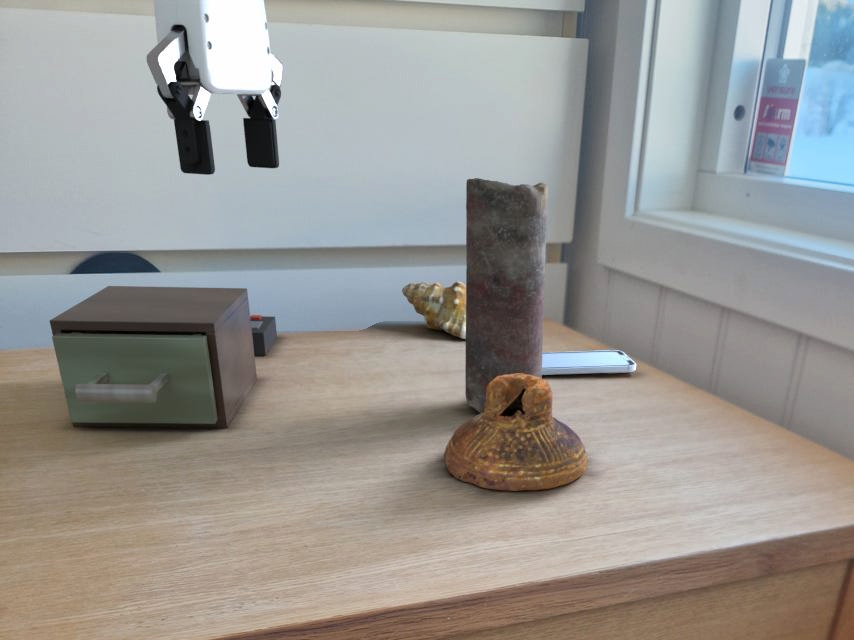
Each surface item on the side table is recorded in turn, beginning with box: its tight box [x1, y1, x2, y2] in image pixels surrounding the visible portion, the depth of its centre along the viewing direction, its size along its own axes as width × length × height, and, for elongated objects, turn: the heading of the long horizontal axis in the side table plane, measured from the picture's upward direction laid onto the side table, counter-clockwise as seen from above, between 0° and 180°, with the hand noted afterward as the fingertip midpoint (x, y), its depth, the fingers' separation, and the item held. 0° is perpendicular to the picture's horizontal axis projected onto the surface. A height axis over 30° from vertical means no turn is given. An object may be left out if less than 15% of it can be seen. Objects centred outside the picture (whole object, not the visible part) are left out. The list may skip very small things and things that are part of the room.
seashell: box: [401, 281, 466, 340], centre depth 112 cm, size 9×8×10 cm
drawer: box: [51, 330, 218, 424], centre depth 79 cm, size 20×12×7 cm, turn 2°
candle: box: [464, 177, 549, 414], centre depth 81 cm, size 8×7×20 cm
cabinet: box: [49, 285, 258, 429], centre depth 83 cm, size 16×14×9 cm
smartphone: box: [542, 349, 637, 376], centre depth 99 cm, size 7×1×15 cm
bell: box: [443, 373, 589, 492], centre depth 71 cm, size 12×12×7 cm
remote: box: [250, 314, 278, 357], centre depth 103 cm, size 8×4×3 cm, turn 2°
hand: (232, 170), depth 80 cm, fingers open, 9 cm apart
